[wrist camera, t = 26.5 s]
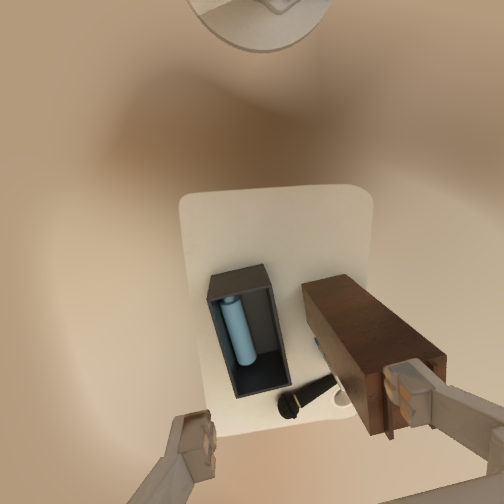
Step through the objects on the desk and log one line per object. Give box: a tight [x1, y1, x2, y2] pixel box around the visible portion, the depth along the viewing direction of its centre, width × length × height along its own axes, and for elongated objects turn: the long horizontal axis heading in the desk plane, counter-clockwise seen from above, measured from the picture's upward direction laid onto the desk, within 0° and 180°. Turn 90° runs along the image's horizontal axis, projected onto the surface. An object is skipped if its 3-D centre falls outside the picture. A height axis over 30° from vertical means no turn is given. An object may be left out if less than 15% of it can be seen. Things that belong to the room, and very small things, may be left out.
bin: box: [206, 264, 292, 399], centre depth 49 cm, size 22×11×11 cm, turn 12°
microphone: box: [277, 374, 337, 419], centre depth 59 cm, size 6×6×20 cm
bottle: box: [219, 295, 257, 365], centre depth 51 cm, size 19×4×4 cm
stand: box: [301, 274, 447, 440], centre depth 41 cm, size 10×10×27 cm
